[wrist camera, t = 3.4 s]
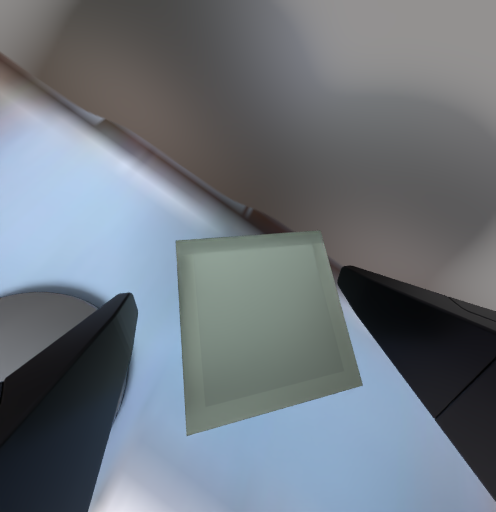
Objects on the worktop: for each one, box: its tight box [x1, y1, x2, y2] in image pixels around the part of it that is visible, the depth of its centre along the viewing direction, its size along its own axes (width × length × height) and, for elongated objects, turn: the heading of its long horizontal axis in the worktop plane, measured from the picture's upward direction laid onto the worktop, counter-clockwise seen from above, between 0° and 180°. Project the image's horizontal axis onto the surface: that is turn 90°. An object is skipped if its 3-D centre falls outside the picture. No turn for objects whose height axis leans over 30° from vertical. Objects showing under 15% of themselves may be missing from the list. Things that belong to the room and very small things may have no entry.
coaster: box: [0, 292, 127, 424], centre depth 11 cm, size 11×11×1 cm
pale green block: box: [176, 231, 363, 436], centre depth 10 cm, size 5×5×9 cm
